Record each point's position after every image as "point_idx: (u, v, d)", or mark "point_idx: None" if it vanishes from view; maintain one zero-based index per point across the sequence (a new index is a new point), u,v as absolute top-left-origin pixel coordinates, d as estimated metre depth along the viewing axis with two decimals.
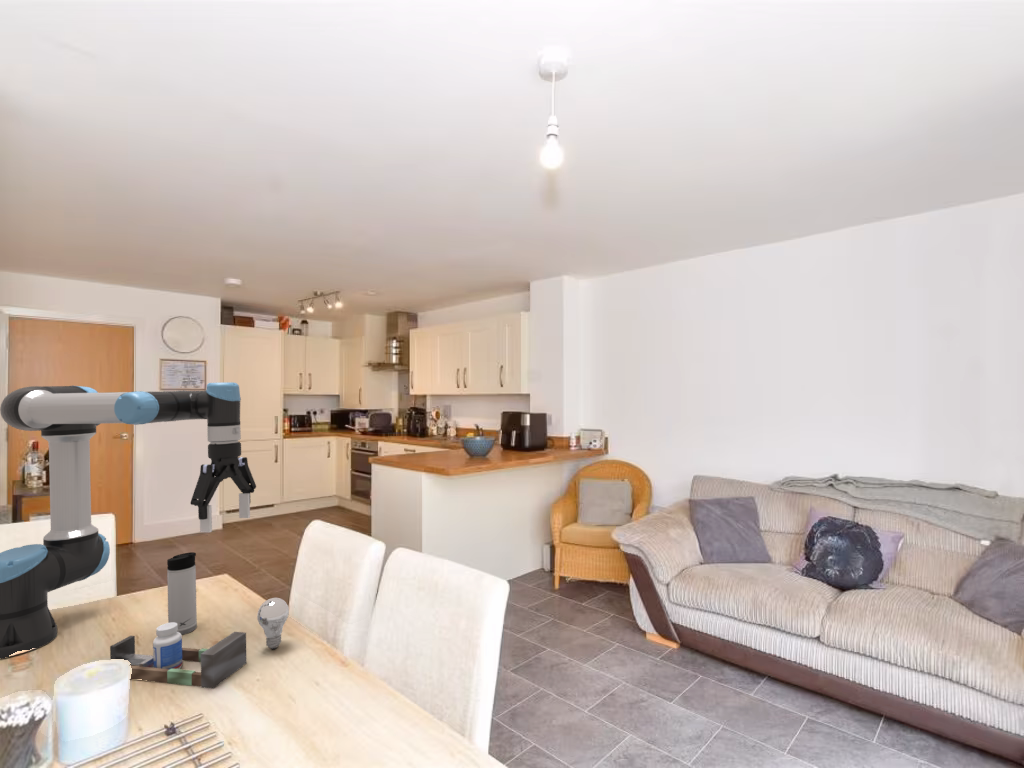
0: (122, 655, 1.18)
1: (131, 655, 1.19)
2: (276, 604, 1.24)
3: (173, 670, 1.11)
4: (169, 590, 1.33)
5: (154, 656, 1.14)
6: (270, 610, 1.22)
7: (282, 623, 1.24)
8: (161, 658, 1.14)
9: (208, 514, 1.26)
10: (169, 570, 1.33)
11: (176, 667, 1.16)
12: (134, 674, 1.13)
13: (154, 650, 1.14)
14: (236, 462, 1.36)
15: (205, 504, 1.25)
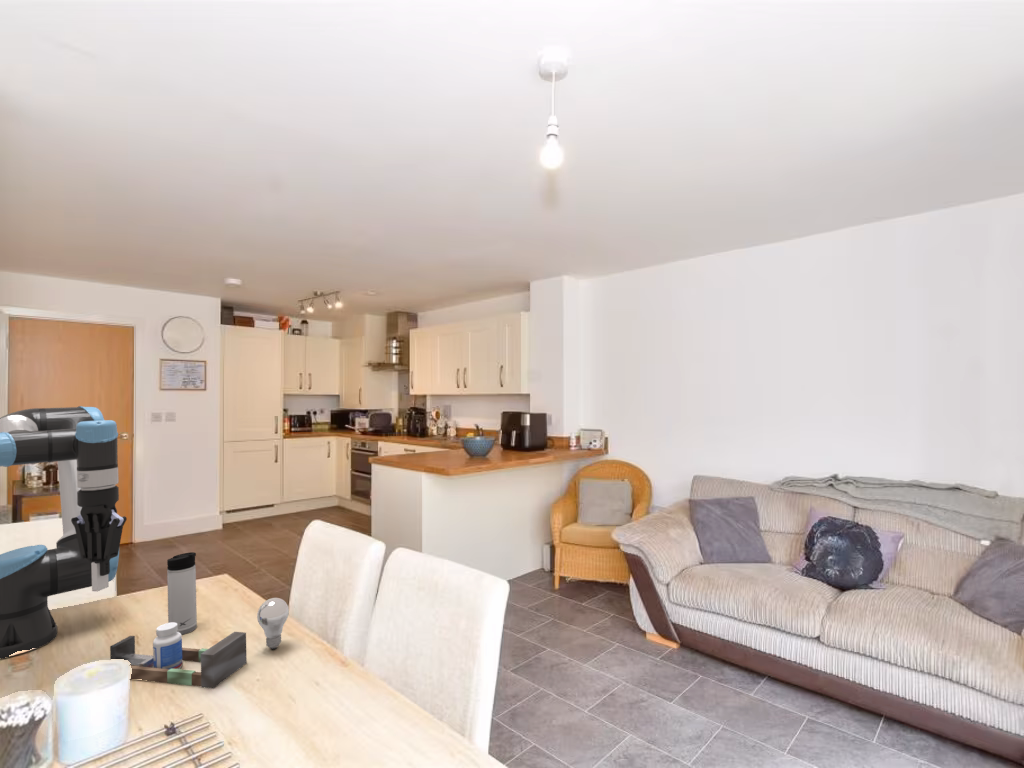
0: (122, 655, 1.18)
1: (131, 655, 1.19)
2: (276, 604, 1.24)
3: (173, 670, 1.11)
4: (169, 590, 1.33)
5: (154, 656, 1.14)
6: (270, 610, 1.22)
7: (282, 623, 1.24)
8: (161, 658, 1.14)
9: None
10: (169, 570, 1.33)
11: (176, 667, 1.16)
12: (134, 674, 1.13)
13: (154, 650, 1.14)
14: (104, 512, 1.18)
15: (89, 561, 1.19)
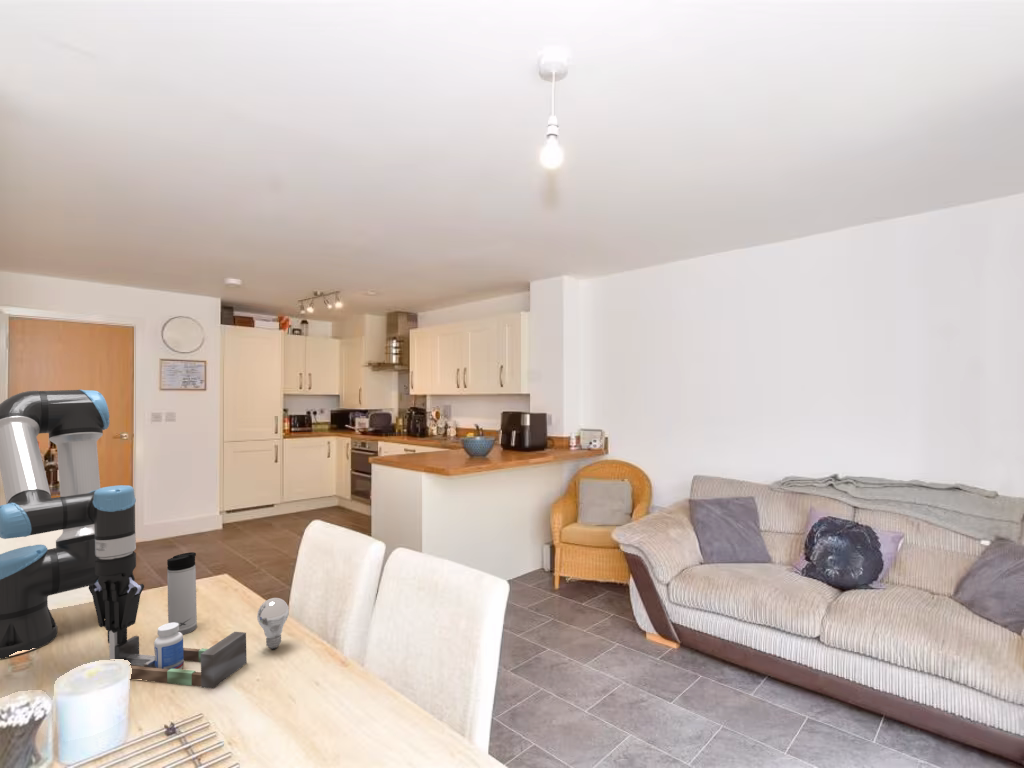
0: (126, 655, 1.18)
1: (135, 655, 1.18)
2: (276, 604, 1.24)
3: (173, 670, 1.11)
4: (169, 590, 1.33)
5: (155, 656, 1.14)
6: (270, 610, 1.22)
7: (282, 623, 1.24)
8: (162, 658, 1.14)
9: None
10: (169, 570, 1.33)
11: (177, 667, 1.16)
12: (134, 674, 1.13)
13: (155, 650, 1.14)
14: (122, 580, 1.17)
15: (106, 629, 1.18)
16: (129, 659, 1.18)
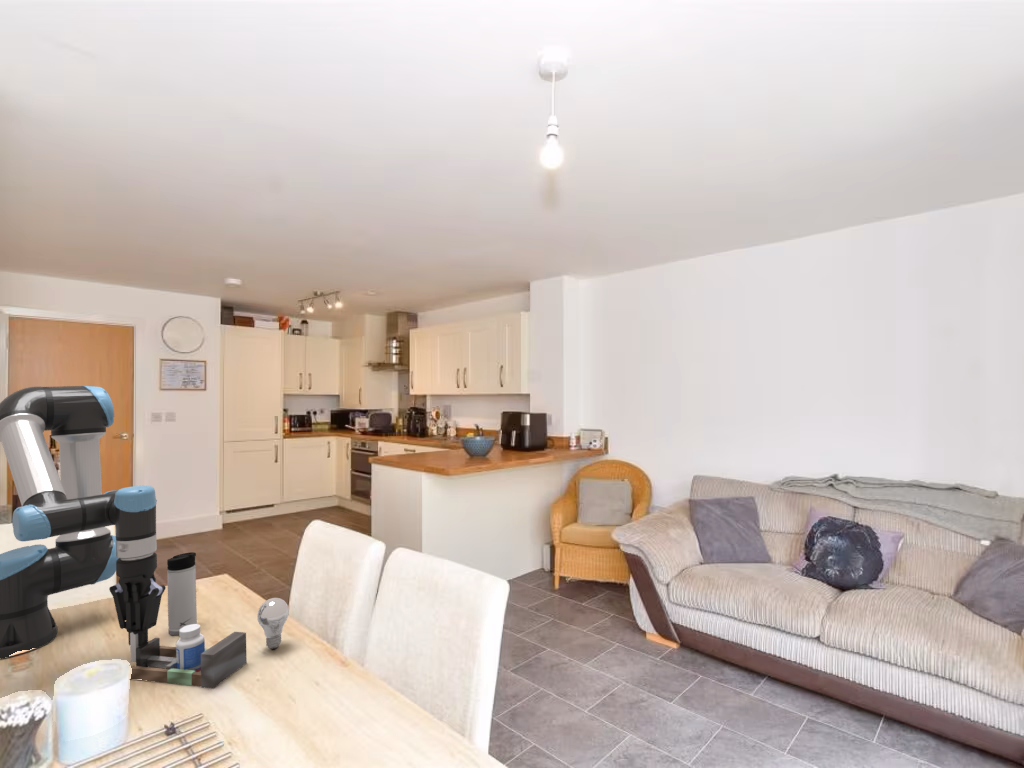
0: (147, 657, 1.17)
1: (156, 657, 1.17)
2: (276, 604, 1.24)
3: (173, 670, 1.11)
4: (169, 590, 1.33)
5: (177, 658, 1.13)
6: (270, 610, 1.22)
7: (282, 623, 1.24)
8: (184, 660, 1.13)
9: None
10: (169, 570, 1.33)
11: (199, 669, 1.14)
12: (134, 674, 1.13)
13: (177, 652, 1.13)
14: (143, 582, 1.16)
15: (127, 631, 1.17)
16: (150, 661, 1.17)
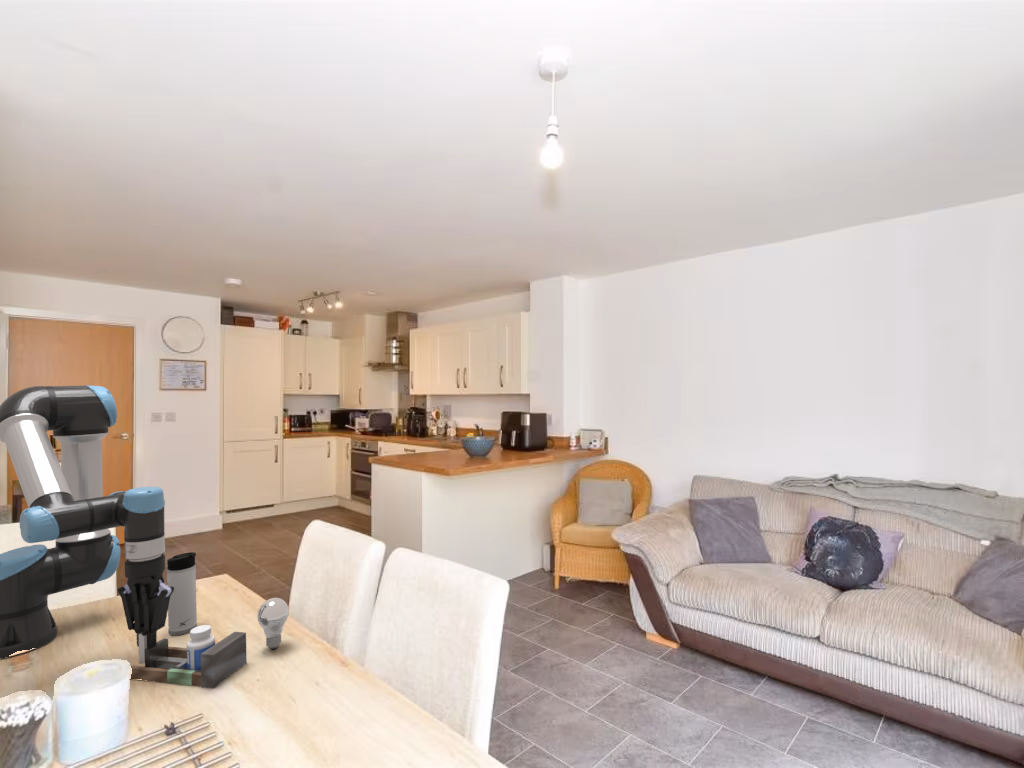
0: (156, 658, 1.16)
1: (165, 658, 1.17)
2: (276, 604, 1.24)
3: (173, 670, 1.11)
4: None
5: (188, 659, 1.13)
6: (270, 610, 1.22)
7: (282, 623, 1.24)
8: (194, 662, 1.12)
9: None
10: (169, 570, 1.33)
11: None
12: (134, 674, 1.13)
13: (188, 653, 1.13)
14: (152, 583, 1.16)
15: (136, 632, 1.17)
16: (159, 662, 1.16)
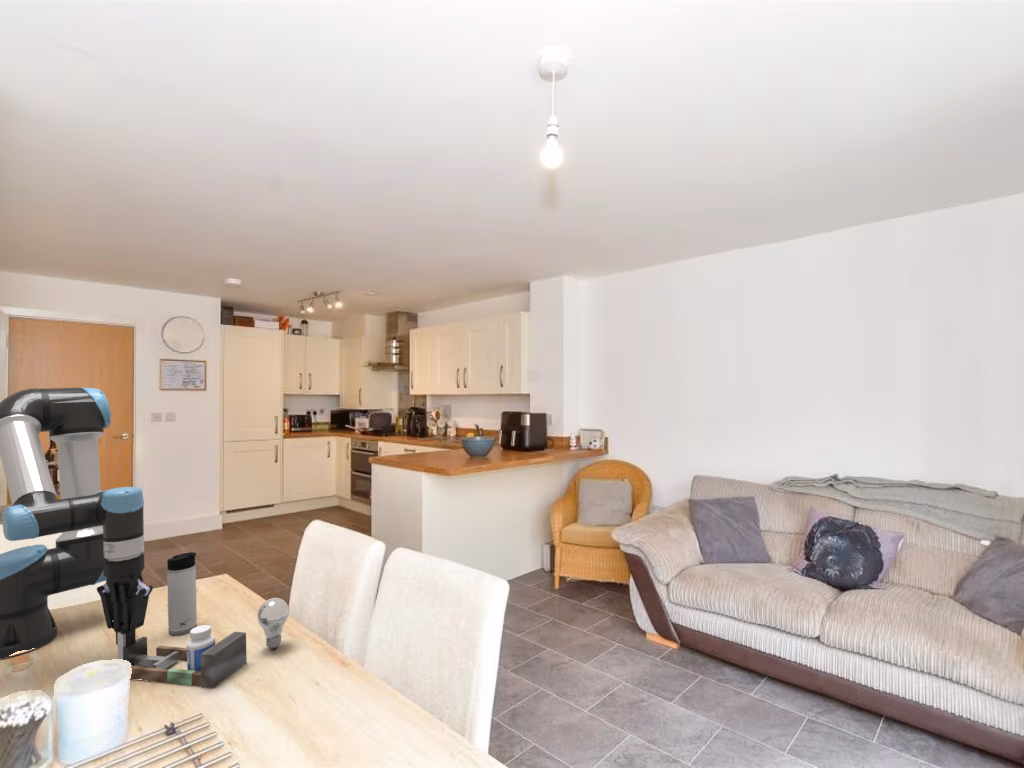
0: (135, 656, 1.17)
1: (144, 656, 1.18)
2: (276, 604, 1.24)
3: (173, 670, 1.11)
4: (169, 590, 1.33)
5: (188, 659, 1.13)
6: (270, 610, 1.22)
7: (282, 623, 1.24)
8: (194, 662, 1.12)
9: None
10: (169, 570, 1.33)
11: None
12: (134, 674, 1.13)
13: (188, 653, 1.13)
14: (130, 582, 1.17)
15: (115, 631, 1.18)
16: (137, 660, 1.17)
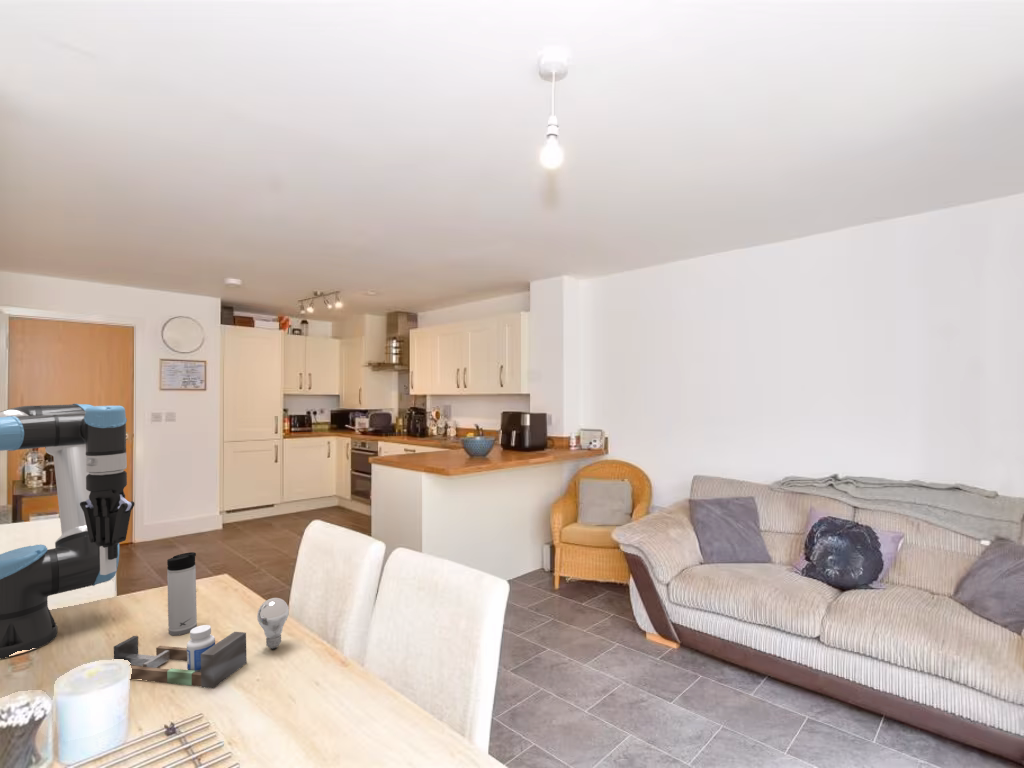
0: (125, 655, 1.18)
1: (134, 655, 1.18)
2: (276, 604, 1.24)
3: (173, 670, 1.11)
4: (169, 590, 1.33)
5: (188, 659, 1.13)
6: (270, 610, 1.22)
7: (282, 623, 1.24)
8: (194, 662, 1.12)
9: None
10: (169, 570, 1.33)
11: None
12: (134, 674, 1.13)
13: (188, 653, 1.13)
14: (112, 497, 1.19)
15: (97, 544, 1.20)
16: (128, 659, 1.18)
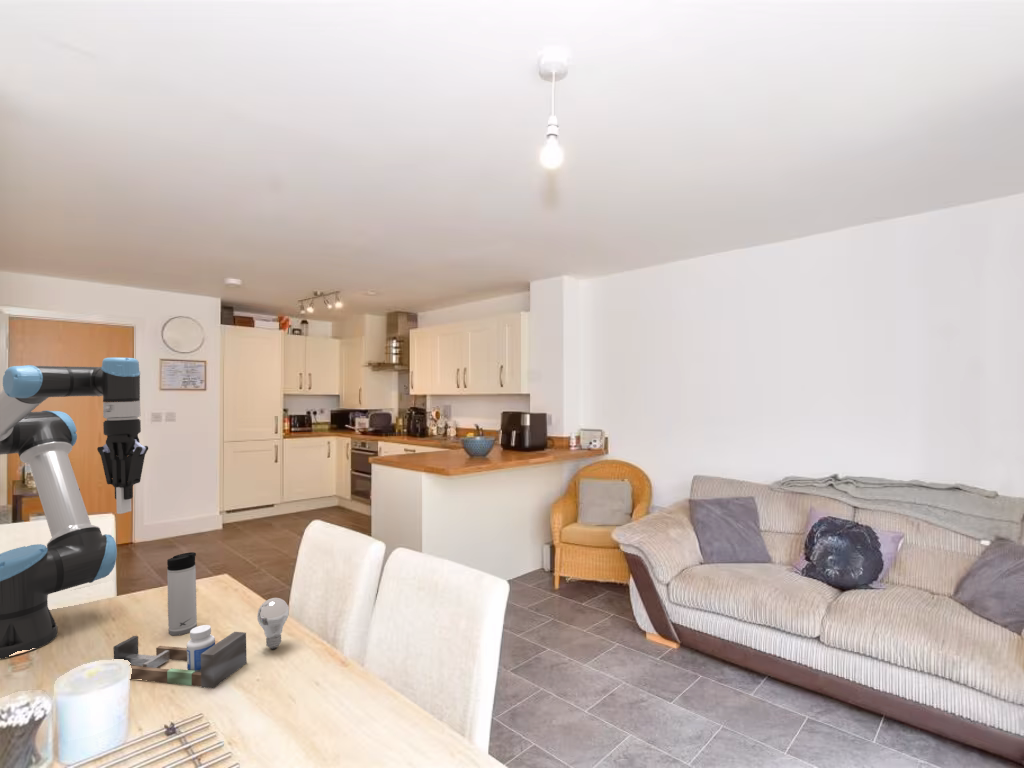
0: (125, 655, 1.18)
1: (134, 655, 1.18)
2: (276, 604, 1.24)
3: (173, 670, 1.11)
4: (169, 590, 1.33)
5: (188, 659, 1.13)
6: (270, 610, 1.22)
7: (282, 623, 1.24)
8: (194, 662, 1.12)
9: None
10: (169, 570, 1.33)
11: None
12: (134, 674, 1.13)
13: (188, 653, 1.13)
14: (128, 441, 1.29)
15: (114, 486, 1.30)
16: (128, 659, 1.18)
